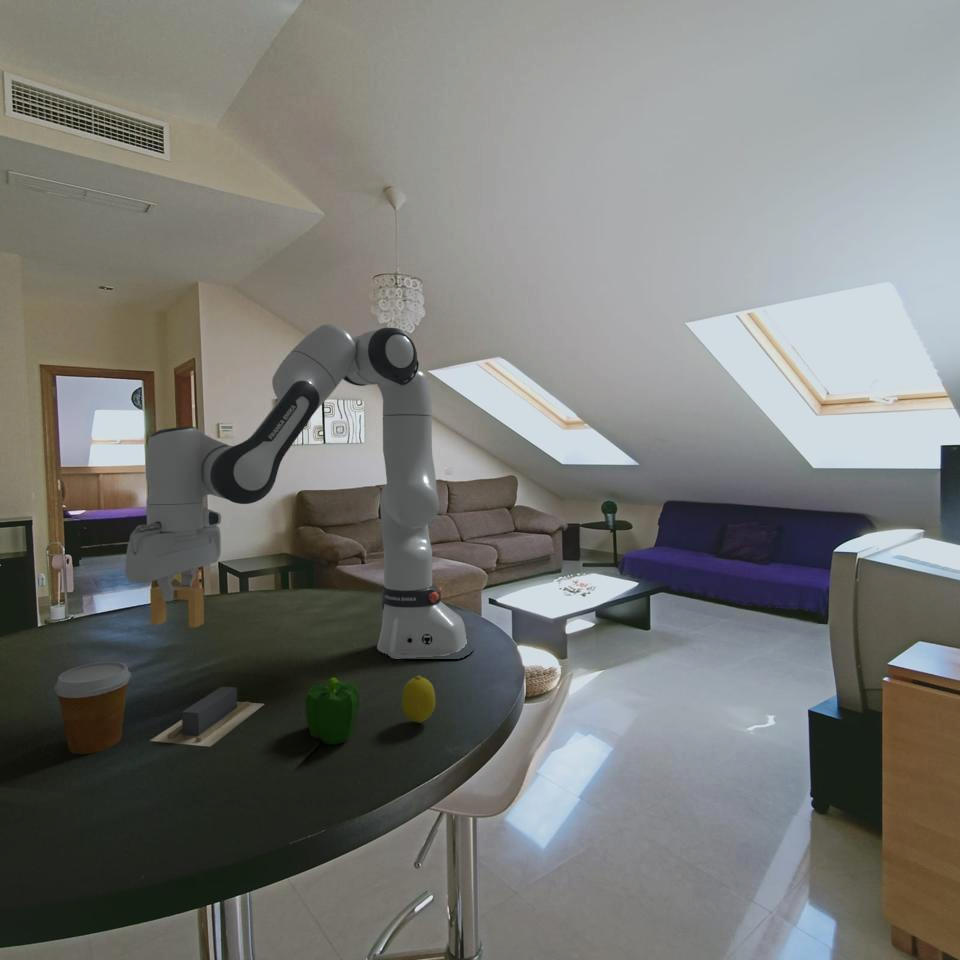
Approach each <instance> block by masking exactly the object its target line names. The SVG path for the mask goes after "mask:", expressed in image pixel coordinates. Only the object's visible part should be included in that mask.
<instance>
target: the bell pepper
mask: <svg viewBox="0 0 960 960" xmlns="http://www.w3.org/2000/svg"><path fill="white" fill-rule="evenodd" d="M328 681H329V682H328V684H326V685H321V684H313V685H310V688H309V690H308V693H306V697H305V699H304V713H305V718H306V722H307V727H308V730H309V733H310V736H311V737H312V738H316V739H319V740H318V743H319V742H320V743H321V742H322V743H323V744H325V745H329V744H330V745H329V746H332V745H331V744H334V745H337V744H336V743H340V742H343V741H345V740H346V741H348V739H349V738H350V737H351V735H352V733H353V731H354V729H355V724H356V721H357V716H358V713H359V708H360V691H359V689H358V686H357V685H356V683H347V682H344V681H342V680H339V679H337V678H336V677H331V678H330V679H329V680H328ZM348 737H349V738H348ZM346 741H345V742H346ZM343 743H344V742H343ZM340 744H341V743H340Z"/></svg>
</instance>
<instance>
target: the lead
mask: <svg viewBox="0 0 960 960" xmlns="http://www.w3.org/2000/svg"><path fill="white" fill-rule="evenodd" d="M237 702H238V688H237V687H231V686H220V687H219V688H217V689H215V690H214V691H212V692H211V693H209V694H207V695H206V696H204V697H203V698H202V699H200V700H198V701H196V702H195V703H194V704H192V705H190V706H189V707H187V708H186V709H184V710H183V711H182V712H181V720H182V735H189V736H199V735H200V734H202V733H203V732H204V731H206V730H207V729H208V728H210V727H211V726H213V725H214V724H215V723H217V722H218V721H219V720H221V719H222V718H224V717H225V716H226V715H228V714H229V713H230V712H232V711H233V710H235V709H236V708H237Z"/></svg>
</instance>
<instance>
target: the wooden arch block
mask: <svg viewBox="0 0 960 960" xmlns="http://www.w3.org/2000/svg"><path fill="white" fill-rule="evenodd" d="M172 586H173V585H172ZM173 588H174V589H177V599H176V600H186V601H188V628H192V629H193V628H197V627H200V626H202V625H204V624H205V604H204V603H205V601H204V600H205V599H204V597H205V595H204V594H205V591H204V587H197V586H196V587H194V586H193V587H178V585H177V586H173ZM149 590H150V594H149V595H150V625H151V626H159V625H161V624H163V623H166V622H167V620H168V619H167V601H164V600H163V595H162V590H161V589H160V587H159V585H157V586H155V587H151V588H149Z"/></svg>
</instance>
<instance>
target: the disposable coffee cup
mask: <svg viewBox="0 0 960 960" xmlns="http://www.w3.org/2000/svg"><path fill="white" fill-rule="evenodd" d="M131 677H132V673H131V671H130V670H129V668H128V665H127V664H126V663H124V662H121V661H100V662H99V661H98V662H93V663H86V664H83V665H79V666H76V667H72V668H70V669H67V670H64V671H63V672H62V673H60V675H58V677H57V682H56V683H55V684H54V687H53V689H54V692H56V694H57V696H58V700H59V706H60V711H61V717H62V720H63V728H64V733H65V738H66V743H67V749H68V752H70V754H71V753H72V754H75V755H87V754H88V755H89V754H94V753H99V752H102V751H104V750H107V749H110V748H112V747H114V746H115V745H117V744H118V743H119V742H120V741H121V739H122V732H123V723H124V716H125V715H124V713H125V706H126V698H127V689H128V683H129V682H130V679H131Z"/></svg>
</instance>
